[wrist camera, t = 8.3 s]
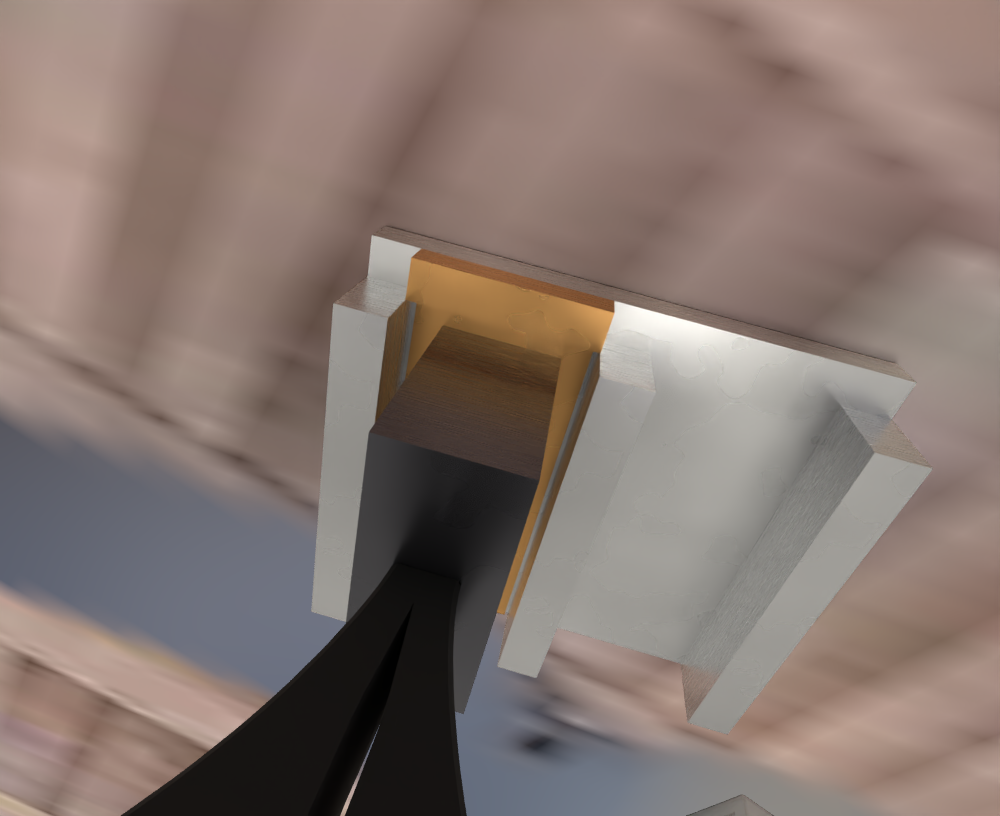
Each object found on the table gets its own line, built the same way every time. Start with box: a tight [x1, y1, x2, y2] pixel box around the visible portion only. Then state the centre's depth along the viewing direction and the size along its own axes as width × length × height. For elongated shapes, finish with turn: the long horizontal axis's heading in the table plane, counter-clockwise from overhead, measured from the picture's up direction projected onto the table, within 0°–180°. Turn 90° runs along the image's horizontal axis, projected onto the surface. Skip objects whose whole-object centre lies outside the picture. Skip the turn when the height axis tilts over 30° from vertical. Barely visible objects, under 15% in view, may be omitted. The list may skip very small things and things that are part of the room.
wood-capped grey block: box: [346, 326, 562, 714], centre depth 14 cm, size 3×7×5 cm, turn 168°
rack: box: [311, 226, 933, 735], centre depth 15 cm, size 13×11×3 cm
